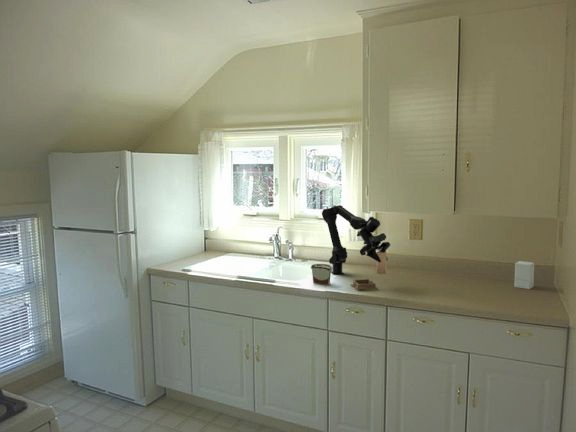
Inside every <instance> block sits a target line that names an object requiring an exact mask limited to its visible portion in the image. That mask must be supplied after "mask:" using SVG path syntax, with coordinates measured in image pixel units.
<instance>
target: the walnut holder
mask: <svg viewBox="0 0 576 432" xmlns="http://www.w3.org/2000/svg"><path fill="white" fill-rule="evenodd" d="M376 285H377V283H376V282H375V281H373V280H372V279H369V278H363V279H352V283H351V284H350V287H352V289H354V290H355V291H357V292H361V291H362V292H363V291H364V292H365V291H375V290H376V291H377V290H379V287H376Z"/></svg>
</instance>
